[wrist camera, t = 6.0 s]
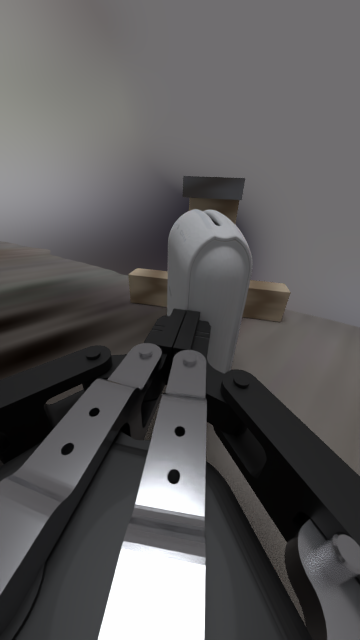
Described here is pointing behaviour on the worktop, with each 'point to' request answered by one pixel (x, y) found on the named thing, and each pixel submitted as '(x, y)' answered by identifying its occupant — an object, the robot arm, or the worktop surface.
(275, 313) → the retention stand
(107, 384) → the robot arm
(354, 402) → the worktop surface
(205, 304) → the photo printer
